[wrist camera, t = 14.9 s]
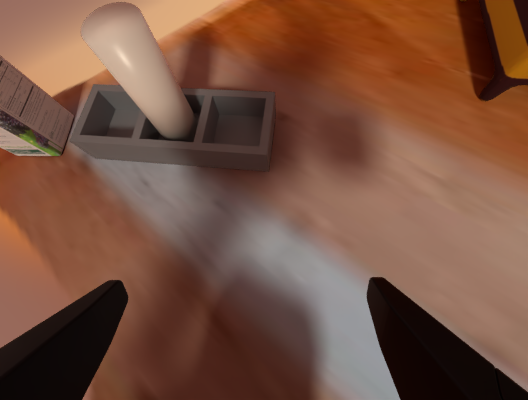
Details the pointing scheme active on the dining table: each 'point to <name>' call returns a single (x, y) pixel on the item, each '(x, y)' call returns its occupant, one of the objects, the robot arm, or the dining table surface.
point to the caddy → (177, 152)
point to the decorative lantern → (506, 44)
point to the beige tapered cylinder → (140, 68)
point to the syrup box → (30, 116)
